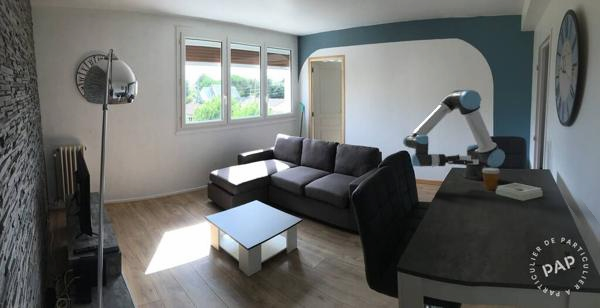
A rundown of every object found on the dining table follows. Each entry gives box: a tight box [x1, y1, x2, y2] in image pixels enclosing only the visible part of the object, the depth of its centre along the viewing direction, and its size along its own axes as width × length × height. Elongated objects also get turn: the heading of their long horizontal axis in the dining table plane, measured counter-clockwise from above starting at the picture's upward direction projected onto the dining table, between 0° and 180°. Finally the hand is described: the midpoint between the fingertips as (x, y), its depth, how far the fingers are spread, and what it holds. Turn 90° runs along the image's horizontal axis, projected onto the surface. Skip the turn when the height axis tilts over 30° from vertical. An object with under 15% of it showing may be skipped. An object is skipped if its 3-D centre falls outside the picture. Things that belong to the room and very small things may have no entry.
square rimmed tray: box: [495, 182, 544, 202], centre depth 196 cm, size 16×16×4 cm
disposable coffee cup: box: [482, 167, 501, 190], centre depth 212 cm, size 10×10×12 cm
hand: (474, 159), depth 212 cm, fingers open, 13 cm apart
